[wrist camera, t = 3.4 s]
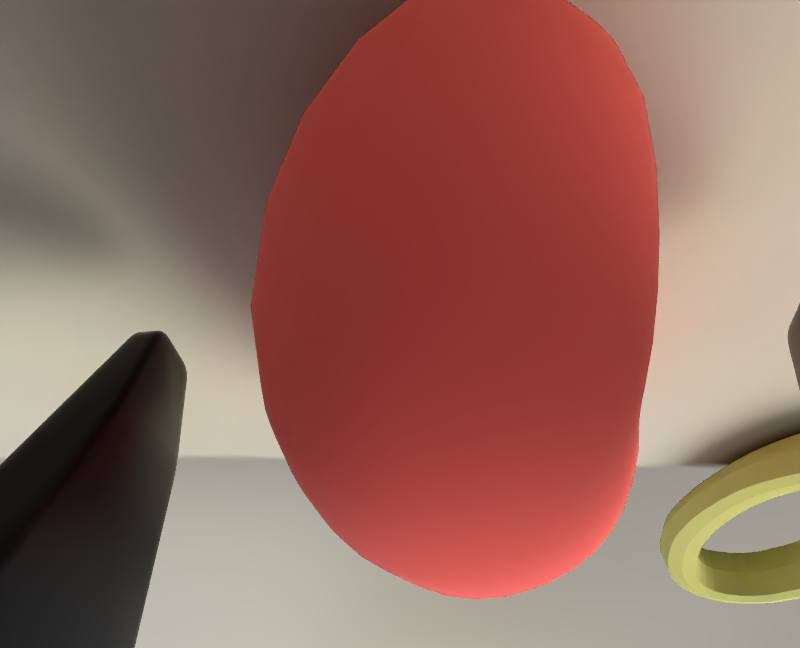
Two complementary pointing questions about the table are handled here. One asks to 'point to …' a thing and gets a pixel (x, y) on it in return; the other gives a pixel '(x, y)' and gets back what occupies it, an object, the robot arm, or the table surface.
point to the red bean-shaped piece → (464, 293)
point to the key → (714, 506)
